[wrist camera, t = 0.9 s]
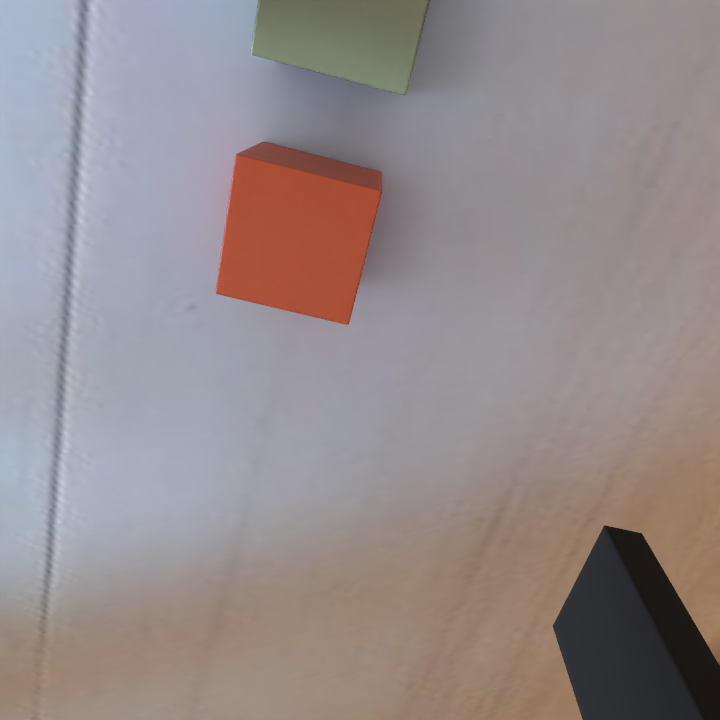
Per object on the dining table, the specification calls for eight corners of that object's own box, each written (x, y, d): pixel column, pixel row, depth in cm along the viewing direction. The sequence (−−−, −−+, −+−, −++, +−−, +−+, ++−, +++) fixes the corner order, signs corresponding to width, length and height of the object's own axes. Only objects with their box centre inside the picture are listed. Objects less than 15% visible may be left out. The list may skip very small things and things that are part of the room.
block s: (262, 141, 24) (235, 153, 20) (382, 171, 25) (382, 191, 20) (243, 258, 26) (214, 294, 22) (353, 285, 27) (348, 325, 22)
